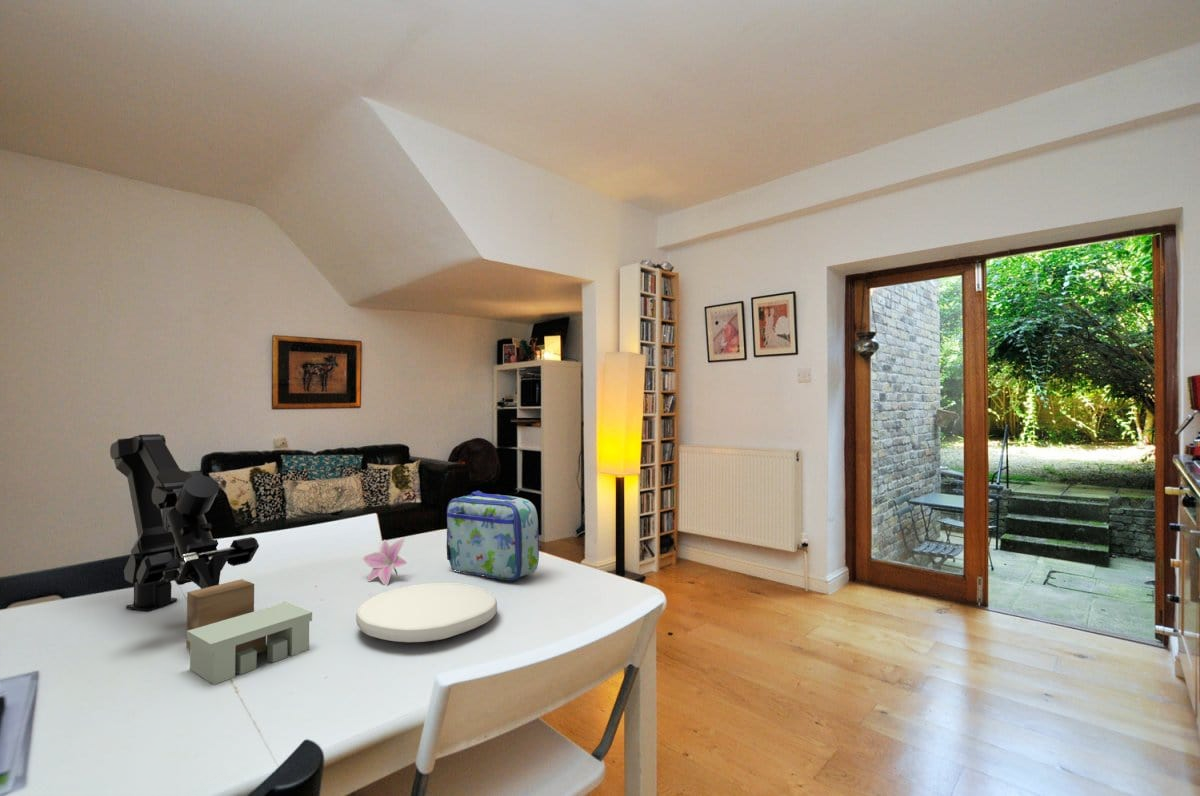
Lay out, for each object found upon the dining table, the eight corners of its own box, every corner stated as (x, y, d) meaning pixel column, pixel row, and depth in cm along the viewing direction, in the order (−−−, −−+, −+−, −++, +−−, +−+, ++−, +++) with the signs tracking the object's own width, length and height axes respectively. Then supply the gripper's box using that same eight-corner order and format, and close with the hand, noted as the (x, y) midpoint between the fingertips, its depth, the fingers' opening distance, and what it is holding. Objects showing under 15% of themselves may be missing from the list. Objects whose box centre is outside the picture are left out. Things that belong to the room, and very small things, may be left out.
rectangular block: (186, 647, 99) (187, 592, 99) (241, 630, 106) (241, 579, 107) (218, 667, 92) (219, 607, 92) (274, 647, 99) (275, 592, 99)
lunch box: (439, 570, 146) (440, 492, 146) (469, 561, 155) (470, 487, 155) (514, 588, 132) (515, 501, 132) (542, 576, 141) (542, 495, 141)
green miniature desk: (186, 670, 90) (186, 630, 91) (286, 636, 104) (286, 602, 104) (210, 685, 85) (210, 644, 86) (311, 648, 99) (312, 612, 99)
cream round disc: (408, 574, 127) (516, 583, 122) (405, 603, 127) (515, 613, 121) (325, 604, 100) (460, 616, 95) (322, 641, 99) (458, 656, 94)
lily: (361, 579, 142) (350, 551, 137) (403, 554, 149) (394, 527, 144) (381, 604, 134) (370, 576, 129) (424, 577, 141) (415, 549, 136)
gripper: (229, 545, 120) (253, 605, 114) (120, 565, 105) (140, 637, 98) (247, 513, 116) (272, 573, 110) (136, 529, 100) (158, 601, 94)
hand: (214, 596), depth 103 cm, fingers closed
